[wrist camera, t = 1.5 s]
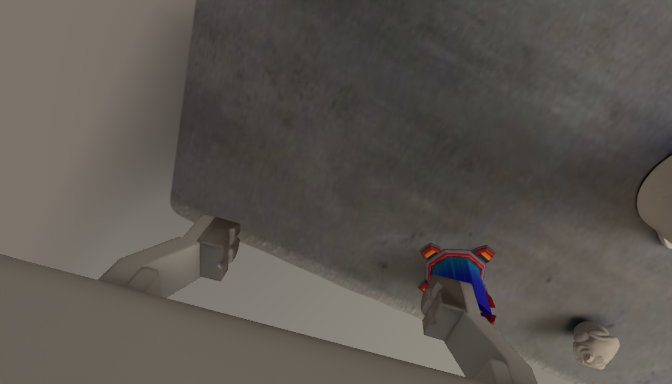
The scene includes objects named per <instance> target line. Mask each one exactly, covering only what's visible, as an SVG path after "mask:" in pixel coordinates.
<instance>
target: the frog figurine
mask: <svg viewBox="0 0 672 384" xmlns="http://www.w3.org/2000/svg"><path fill="white" fill-rule="evenodd" d="M574 340H575V342H573V344H574V345H573V350H574V354H575V358H576V360H577V362H578V363H579V364H581V365H585V366H591V367H594V368H596V369H604V368H605V365H607V363H608V362H609V361H610V360H612V359H613V357H614V355H615V354H616V352H617V350H618V348H619V341H618V339H617V338H616V337H612V336H610V334H609V333H608V331H607V330H606V329H605V328H604V327H603V326H601V325H599V324H597V323H595V322H590V321H586V322H582V323H580V324H578V325H577V326H576V327H575V329H574Z"/></svg>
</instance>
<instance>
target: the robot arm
mask: <svg viewBox="0 0 672 384" xmlns="http://www.w3.org/2000/svg"><path fill="white" fill-rule="evenodd" d="M637 209H638V213H639V215H640V217H641V218H642V220H643V221H644V222H645V223H646V224H648V225H649V226H650V227H652V228H653V229H655V230H656V231H657V233H658V237H659V239H660V241H661V243H662V244H663V245H665V246H666V247H667V248H669V249H672V155H671V156H670V157H668V158H667V159H665V160H664V161H663V162H662V163H660V164H659V165H658V166H657V167H656V168H655V169H654V170H653V171H652V172H651V173H650V174H649V175H648V177H647V178H646V179H645V181H644V182H643V184H642V186H641V188H640V190H639V193H638V197H637ZM240 226H241V225H240V224H239V223H236V222H232V221H229V220H225V219H222V218H218V217H214V216H210V215H207V214H204V215H202V216H201V217H200V218H199V219H198V220H197V221H196V223H195V224H194V225H193V226H192V227H191V228H190V230H189V231H188V232H187V233H186V235H184V237H183V238H182V237H178V238H175V239H172V240H169V241H166V242H164V243H161V244H159V245H156V246H153V247H151V248H148V249H145V250H142V251H140V252H137V253H134V254H132V255H129V256H126V257H124V258H121V259H119V260H118V261H117V262H116V263H115V264H114V265H113V266H112V267H111V268H110V269H109V270H107V271H106V273H104V274H103V275H102V276H101V277H100V279H98V280H95V279H91V278H88V277H84V276H80V275H76V274H72V273H68V272H65V271H61V270H57V269H53V268H50V267H45V266H42V265H38V264H35V263H31V262H27V261H23V260H19V259H16V258H12V257H9V256H6V255H2V254H0V384H537V382H536V379H535V376H534V374H533V371H532V368H531V367H530V366H529V365H528V364H527V363H526V362H525V360H524V359H523V358H522V357H521V356H520V355H519V354H518V353H517V352H516V351H515V350H514V348H513V347H512V346H511V345H510V344H509V343H508V342H507V341H506V340H505V339H504V338H503V336H502V335H501V334H500V333H499V332H498V331H497V330H496V329H495V328H494V327H493V326H492V324H491V323H490V322H489V321H488V320H487V319H486V318H485V317H482V316H481V314H480V310H479V307H478V303H477V300H476V297H475V293H474V290H473V287H472V285H471V284H470V283H466V282H462V281H457V280H453V279H449V278H445V277H441V276H437V275H433V276H432V278H431V279H430V287H428V288H426V289H425V291H424V293H423V296H422V300H421V311H422V313H423V314H424V315H425V317H424V319H423V320H422V321H423V330H424V335H427V336H430V337H433V338H437V339H440V340H443V341H445V344H446V345H447V347H448V349H449V350H450V352H451V353H452V355H453V357H454V358H455V360H456V362H457V363H458V365H459V366H460V368H461V370H462V371H463V373H464V375H465V376H466V377H463V376H459V375H455V374H451V373H447V372H444V371H440V370H436V369H432V368H428V367H425V366H421V365H416V364H413V363H409V362H406V361H402V360H398V359H394V358H390V357H386V356H383V355H379V354H375V353H371V352H368V351H364V350H360V349H357V348H353V347H349V346H345V345H342V344H338V343H334V342H330V341H326V340H322V339H319V338H315V337H311V336H307V335H304V334H300V333H296V332H292V331H288V330H285V329H281V328H277V327H273V326H269V325H266V324H261V323H258V322H254V321H250V320H246V319H243V318H239V317H235V316H231V315H228V314H224V313H220V312H216V311H213V310H208V309H205V308H201V307H197V306H194V305H190V304H186V303H182V302H178V301H175V300H171V299H167V297H168V296H170V295H172V294H174V293H175V292H177V291H179V290H180V289H182V288H183V287H185V286H187V285H188V284H190V283H191V282H193V281H195V280H196V279H198V278H200V277H205V278H209V279H213V280H218V281H221V280H222V278H223V277H224V275H225V273H226V272H227V270H228V263H231V262H232V261H233V260H234V258H235V256H236V254H237V251H238V247H239V241H240V240H239V238H238V234H239V233H240Z"/></svg>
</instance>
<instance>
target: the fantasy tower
mask: <svg viewBox="0 0 672 384" xmlns="http://www.w3.org/2000/svg"><path fill="white" fill-rule="evenodd" d="M441 250H442V249H441V248H440V247H439V246H436V245H433V244H431V243H430V244H429V245H427V246H426V247H424V248H423V249H421V250H420V252H421V254H422V256H423V257H424V258H425V259H426V260H428V261H426V271H425V279H426V280H428V281H429V282H430V279H431V278H432V276H433V275H437V276H441V277H445V278H449V279H453V280H457V281H462V282H466V283H470V284H471V285H472V287H473V290H474V293H475V297H476V300H477V303H478V307H479V310H480V314H481V316H482V317H485V318H486V319H487V320H488V321H489V322H490V323H491V324H492V326H493V324H494V321H495V318H496V316H495V315H492V313H491V309H490V307H492V308H495V305H494V303H493V300H492V298H491V297H490V296H489V294H488V293H487V292H488V290H487V288H486V286H485V285H484V284H483V278H484V272H485V267H486V263H487V262H489V261H490V260H491V258H492V257H493V256H494V255H495V254H496V253H495V252H494V251H493V250H491V249H490V248H489V247H488V246H487V245H486V246H482V247H478V248H476V249H474V250H473V251H474V252H475V253H476V254H477V255H478V256H479V257H481V258H482V259H483V260H484V261H485V262H486V263H484V262H483V261H482V260H481V259H480V258H479V257H477V256H476V255H475V254H474V253H473V252H472V251H470V250H449V249H444V250H443V251H441ZM440 251H441V252H440ZM439 252H440V253H439ZM428 287H430V284H429V283H428V282H426V281H425V280H424V281H423V282H421V284H420V285H419V287H418V288H419V289H420V290H421V291H423V292H424V291H425V289H426V288H428Z"/></svg>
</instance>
